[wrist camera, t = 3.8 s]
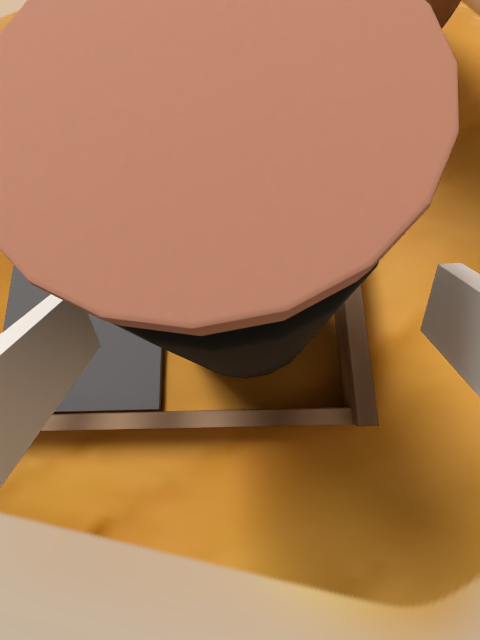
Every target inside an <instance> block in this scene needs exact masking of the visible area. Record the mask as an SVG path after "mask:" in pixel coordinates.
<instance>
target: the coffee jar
mask: <svg viewBox="0 0 480 640" xmlns="http://www.w3.org/2000/svg"><path fill="white" fill-rule="evenodd" d="M458 133H459V112H458V71H457V61H456V59H455V57H454V55H453V53H452V51H451V48H450V46H449V44H448V42H447V40H446V38H445V35H444V33H443V31H442V29H441V27H440V25H439V22H438V20H437V18H436V16H435V14H434V12H433V9H432V7H431V5H430V4H429V3H428V2H427V1H426V0H27V1H26V3H25V4H24V5H23V6H22V7H21V9H20V10H19V11H18V12H17V14H16V15H15V16H14V17H13V18H12V20H11V21H10V22H9V23H8V25H7V26H6V27H5V28H4V29H3V31H2V32H1V33H0V250H1V251H2V252H3V253H4V254H5V255H6V256H7V258H8V259H9V260H10V261H11V262H12V263H13V264H14V265H15V267H16V268H17V269H18V270H19V271H20V272H21V273H22V274H23V276H24V277H25V278H26V279H27V280H28V281H29V282H30V283H31V284H32V285H34V286H36V287H38V288H40V289H42V290H44V291H46V292H48V293H50V294H52V295H53V296H55V297H57V298H59V299H61V300H63V301H65V302H67V303H69V304H71V305H73V306H75V307H77V308H79V309H81V310H83V311H85V312H87V313H89V314H91V315H93V316H95V317H97V318H99V319H101V320H103V321H106V322H110V323H112V324H114V325H116V326H118V327H120V328H122V329H124V330H126V331H128V332H130V333H132V334H134V335H136V336H138V337H140V338H142V339H144V340H146V341H148V342H150V343H152V344H154V345H156V346H159V347H161V348H163V349H165V350H168V351H170V352H172V353H174V354H176V355H179V356H181V357H183V358H185V359H188V360H190V361H192V362H194V363H196V364H199V365H201V366H203V367H205V368H208V369H210V370H212V371H214V372H216V373H219V374H221V375H225V376H232V377H239V378H250V377H255V376H261V375H266V374H270V373H272V372H273V371H275V370H277V369H279V368H281V367H283V366H284V365H286V364H288V363H290V362H291V361H292V359H293V358H294V357H295V356H296V355H297V354H298V353H299V352H300V351H301V350H302V349H303V348H304V347H305V345H306V344H307V343H308V342H309V341H310V340H311V339H312V338H313V337H314V335H315V334H316V333H317V332H318V331H319V330H320V329H321V328H322V327H323V326H324V324H325V323H326V322H327V321H328V320H329V319H330V318H331V317H332V316H333V314H334V313H335V312H336V311H337V310H338V309H339V308H340V307H341V306H342V304H343V303H344V302H345V301H346V300H347V299H348V298H349V297H350V296H351V294H352V293H353V292H354V291H355V290H356V289H357V288H358V287H359V286H360V284H361V283H362V282H363V281H364V280H365V279H366V278H367V277H368V276H369V274H370V273H371V272H372V271H373V270H374V269H375V268H376V267H377V265H378V263H379V260H380V259H381V258H382V257H383V256H384V255H385V254H386V253H387V252H388V251H389V250H390V249H391V247H392V246H393V245H394V244H395V243H396V242H397V241H398V240H399V239H400V238H401V237H402V236H403V235H404V234H405V232H406V231H407V230H408V229H409V228H410V227H411V226H412V225H413V224H414V223H415V222H416V221H417V220H418V218H419V217H420V216H421V215H422V214H423V213H424V212H425V211H426V210H427V209H428V208H429V206H430V203H431V201H432V199H433V196H434V194H435V191H436V189H437V186H438V184H439V181H440V179H441V176H442V174H443V171H444V169H445V166H446V164H447V161H448V159H449V156H450V154H451V151H452V149H453V146H454V144H455V141H456V139H457V136H458Z"/></svg>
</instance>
